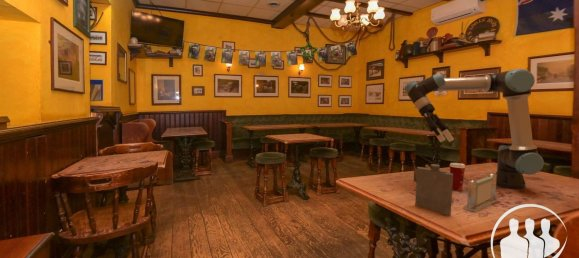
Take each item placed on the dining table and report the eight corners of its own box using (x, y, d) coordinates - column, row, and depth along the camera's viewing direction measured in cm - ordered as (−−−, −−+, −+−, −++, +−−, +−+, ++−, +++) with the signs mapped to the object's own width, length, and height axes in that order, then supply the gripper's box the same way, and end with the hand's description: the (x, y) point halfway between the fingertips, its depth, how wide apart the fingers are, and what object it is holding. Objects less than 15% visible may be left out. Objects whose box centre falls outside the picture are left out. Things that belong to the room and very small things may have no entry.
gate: (486, 197, 142) (487, 176, 141) (491, 198, 140) (492, 177, 139) (470, 204, 131) (471, 181, 130) (475, 206, 129) (477, 183, 128)
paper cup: (466, 191, 156) (468, 165, 154) (450, 190, 157) (452, 165, 156) (461, 187, 163) (462, 162, 162) (446, 186, 165) (447, 162, 164)
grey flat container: (426, 179, 182) (427, 164, 181) (430, 180, 179) (431, 165, 178) (412, 181, 177) (413, 165, 176) (416, 182, 174) (417, 166, 174)
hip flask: (413, 205, 135) (415, 162, 133) (419, 203, 137) (421, 161, 135) (448, 216, 121) (450, 168, 120) (453, 214, 123) (456, 167, 122)
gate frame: (486, 198, 145) (487, 172, 144) (497, 200, 141) (499, 174, 140) (463, 208, 130) (464, 180, 129) (475, 212, 126) (477, 182, 125)
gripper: (427, 112, 169) (448, 144, 161) (409, 109, 152) (432, 144, 143) (439, 104, 165) (461, 137, 156) (421, 100, 147) (446, 136, 139)
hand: (447, 141), depth 150 cm, fingers open, 13 cm apart
